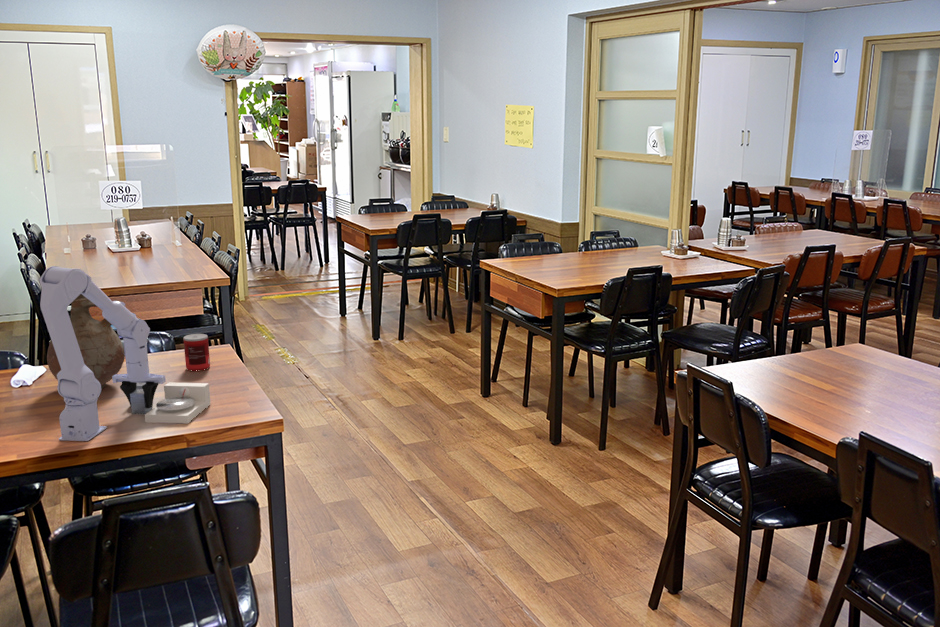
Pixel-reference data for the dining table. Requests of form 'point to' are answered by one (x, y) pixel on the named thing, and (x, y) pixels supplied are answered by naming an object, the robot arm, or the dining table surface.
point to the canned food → (196, 352)
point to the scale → (185, 415)
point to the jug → (92, 343)
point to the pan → (175, 403)
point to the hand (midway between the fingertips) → (141, 407)
